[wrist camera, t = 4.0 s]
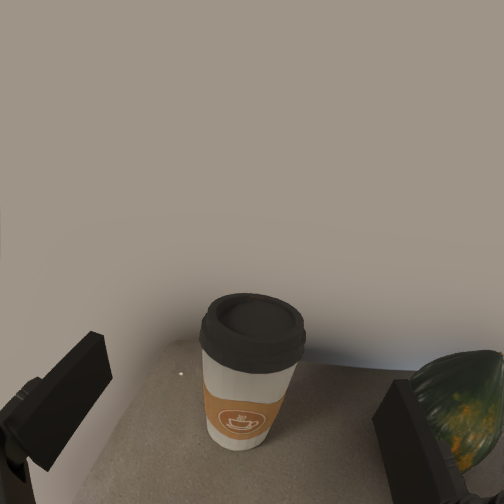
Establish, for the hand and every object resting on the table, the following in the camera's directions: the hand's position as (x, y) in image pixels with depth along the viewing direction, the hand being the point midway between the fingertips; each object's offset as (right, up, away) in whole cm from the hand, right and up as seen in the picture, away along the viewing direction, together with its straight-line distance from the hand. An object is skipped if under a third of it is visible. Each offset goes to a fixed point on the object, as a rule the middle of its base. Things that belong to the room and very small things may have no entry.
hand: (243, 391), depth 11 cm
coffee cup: (-1, -13, +14) cm, 19 cm away
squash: (+20, -17, +10) cm, 28 cm away
